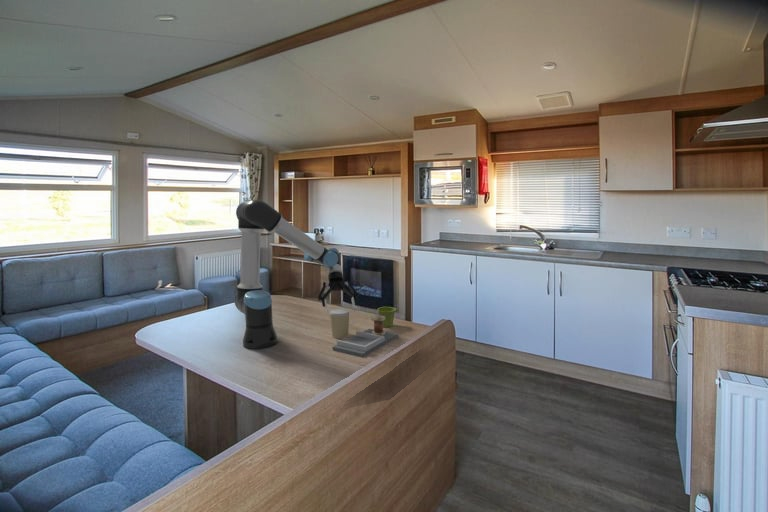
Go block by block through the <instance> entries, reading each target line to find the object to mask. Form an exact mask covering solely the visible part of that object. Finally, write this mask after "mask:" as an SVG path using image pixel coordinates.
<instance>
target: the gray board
mask: <svg viewBox="0 0 768 512" xmlns="http://www.w3.org/2000/svg"><path fill="white" fill-rule="evenodd" d="M373 330H374V328H373V329H372V328H368V329H366V330H364V331H358V330H357V331H355V333H356V334H355V335H354V336H352V337H349V338H348V339H345V340H340V339H338V340H336V344H335V345H334V346H332V351H335V352H338V353H344V354H348V355H352V356H356V357H361V358H364V357H366V356H368V355H369V353H370V354H371V353H373V352H375V351H376V350H378V349H380V348H381V347H383V346H385V345H386V343H387V344H389V343H390V342H392V341H394V340H395V339H398V336H399V335H398V333H395V332H389V331H385V335H383V336H380V335H375V334H372V331H373ZM388 342H389V343H388Z"/></svg>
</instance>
